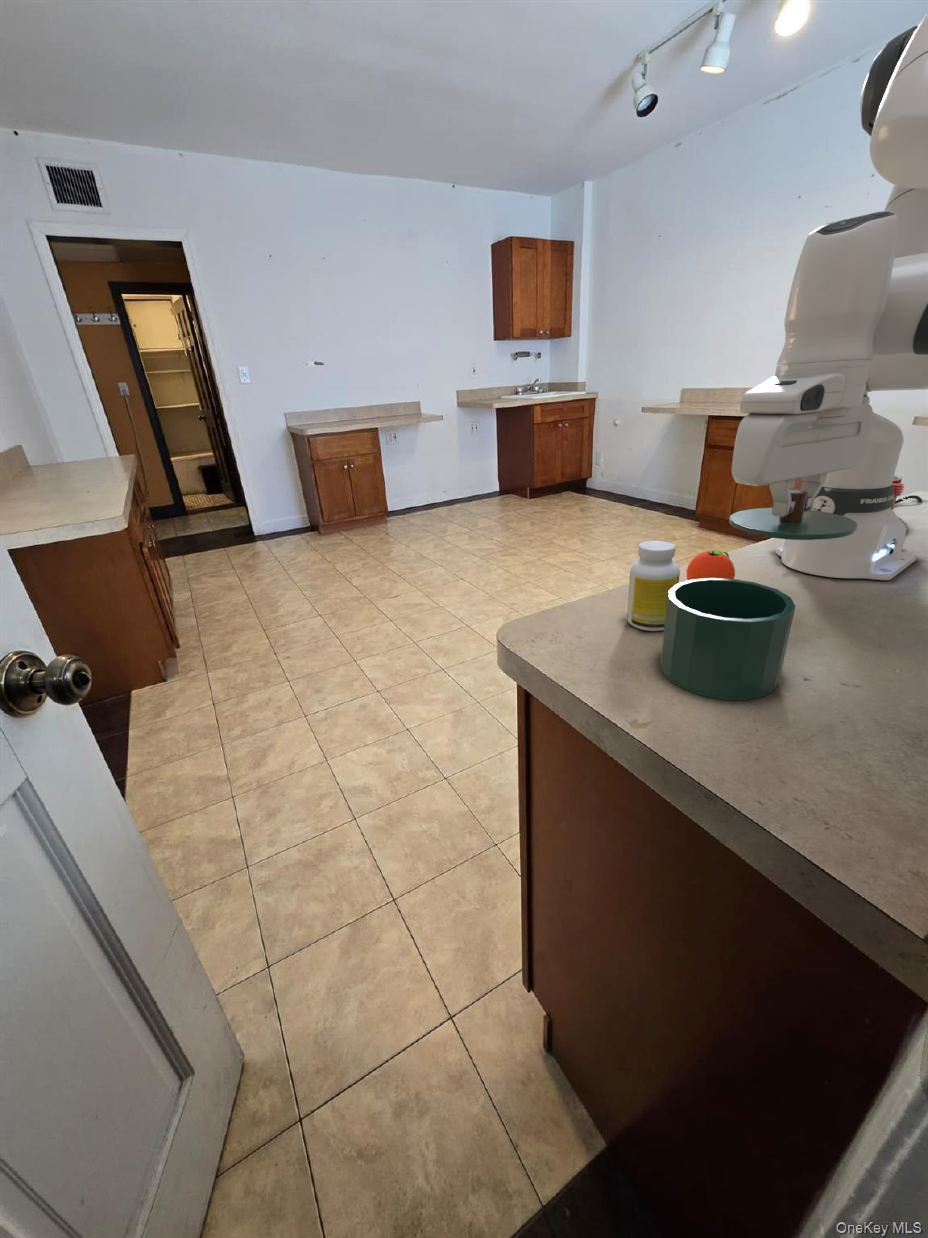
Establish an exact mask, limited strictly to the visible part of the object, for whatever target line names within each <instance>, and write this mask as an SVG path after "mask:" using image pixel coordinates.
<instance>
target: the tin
mask: <svg viewBox="0 0 928 1238" xmlns="http://www.w3.org/2000/svg"><path fill="white" fill-rule="evenodd" d="M795 611H796V604H795V602H794V600H793V599H792V597H791V596H790V595H788V594H786V593H784V592H782V591H780V590H779V589H777V588H774V587H771V586H768V585H765V584H761V583H758V582H754V581H748V580H743V579H736V578H734V579H724V578H704V579H692V580H685V581H681V582H679V583H678V584H675V585H674V586H673V587H672V588H671V589H669V590H668V594H667V603H666V612H665V622H664V630H662V632H663V633H662V641H661V651H660V663H659V664H660V670H661V672H662V674H663V675H664V676H665V678H666V679H667V680H668V681H670V682H671V683H672V684H674V685H676V686H677V687H679V688H681V689H683V690H685V691H687V692H689V693H693V694H695V695H698V696H702V697H706V698H709V699H714V700H721V701H737V702H739V701H750V700H756V699H760V698H763V697H765V696H768V695H769V694H771V693H772V692H773V691H774V690H775V689H776V688H777V686H778V682H779V681H780V678H781V674H782V670H783V665H784V661H785V656H786V652H787V648H788V642H789V638H790V634H791V629H792V625H793V620H794V616H795Z"/></svg>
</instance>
